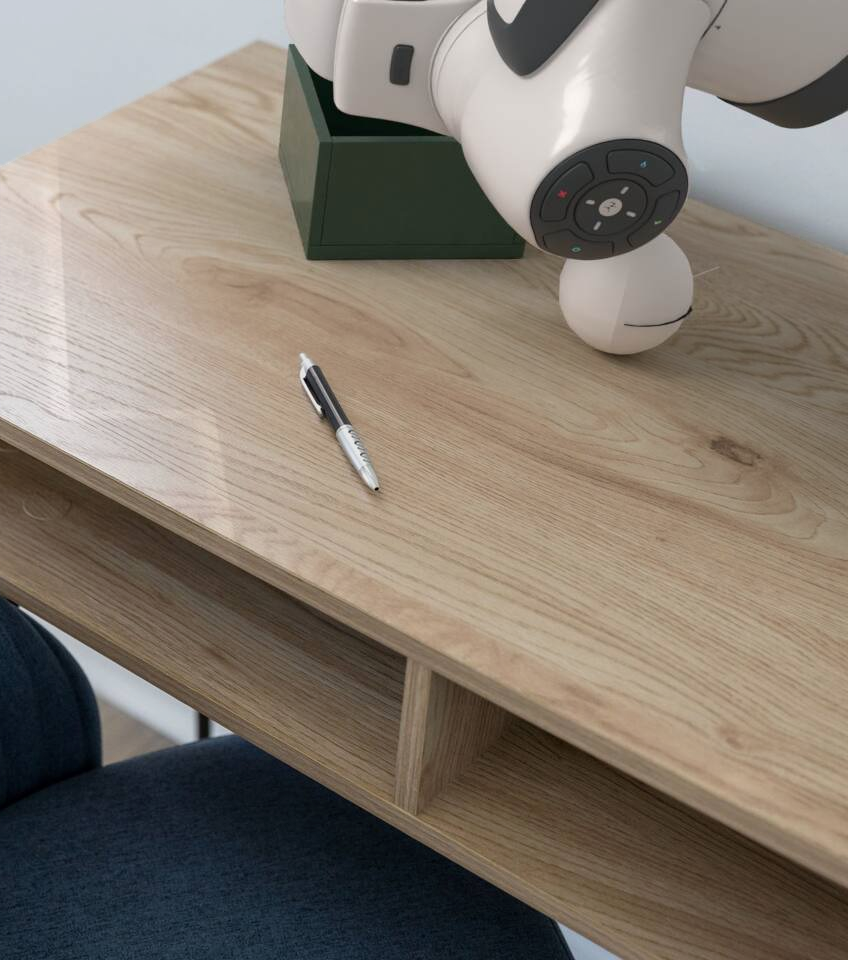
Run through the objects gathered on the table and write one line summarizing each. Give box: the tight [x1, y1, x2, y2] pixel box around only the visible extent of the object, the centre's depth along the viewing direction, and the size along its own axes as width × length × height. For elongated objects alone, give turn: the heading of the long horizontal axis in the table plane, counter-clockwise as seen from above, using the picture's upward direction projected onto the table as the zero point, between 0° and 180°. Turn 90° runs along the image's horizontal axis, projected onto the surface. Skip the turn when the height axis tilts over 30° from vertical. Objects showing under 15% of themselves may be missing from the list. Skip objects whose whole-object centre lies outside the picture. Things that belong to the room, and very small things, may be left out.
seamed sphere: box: [558, 232, 721, 355], centre depth 91 cm, size 10×7×7 cm
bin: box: [277, 43, 527, 260], centre depth 103 cm, size 14×14×8 cm
